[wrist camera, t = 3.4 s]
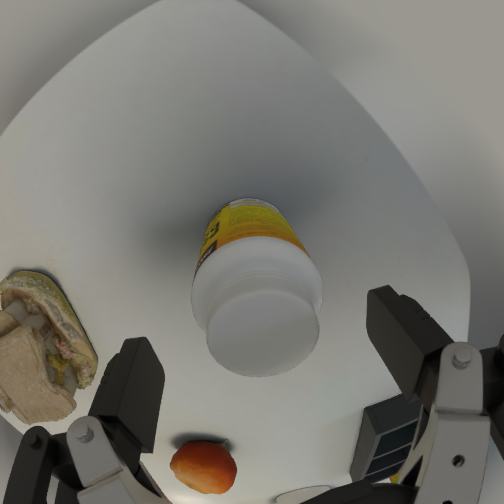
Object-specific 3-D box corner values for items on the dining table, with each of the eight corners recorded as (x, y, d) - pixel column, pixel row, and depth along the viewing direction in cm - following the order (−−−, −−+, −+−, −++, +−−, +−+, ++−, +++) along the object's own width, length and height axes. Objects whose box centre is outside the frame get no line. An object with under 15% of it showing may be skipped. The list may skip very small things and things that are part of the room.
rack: (426, 383, 28) (440, 406, 24) (392, 457, 38) (399, 473, 34) (364, 408, 28) (376, 435, 24) (349, 472, 38) (354, 490, 34)
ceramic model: (112, 390, 24) (88, 468, 15) (35, 374, 23) (3, 435, 14) (69, 268, 18) (-2, 349, 9) (-11, 267, 18) (-72, 321, 8)
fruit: (255, 463, 29) (226, 508, 23) (206, 444, 33) (176, 482, 26) (245, 438, 26) (208, 492, 20) (189, 415, 30) (151, 460, 23)
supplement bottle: (211, 189, 17) (188, 254, 8) (297, 204, 18) (365, 277, 9) (200, 269, 19) (180, 384, 10) (278, 280, 20) (314, 392, 11)
